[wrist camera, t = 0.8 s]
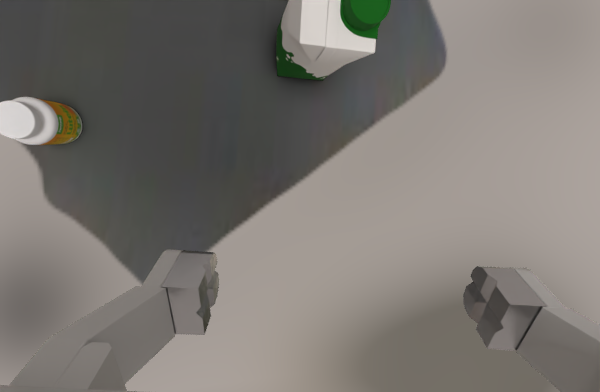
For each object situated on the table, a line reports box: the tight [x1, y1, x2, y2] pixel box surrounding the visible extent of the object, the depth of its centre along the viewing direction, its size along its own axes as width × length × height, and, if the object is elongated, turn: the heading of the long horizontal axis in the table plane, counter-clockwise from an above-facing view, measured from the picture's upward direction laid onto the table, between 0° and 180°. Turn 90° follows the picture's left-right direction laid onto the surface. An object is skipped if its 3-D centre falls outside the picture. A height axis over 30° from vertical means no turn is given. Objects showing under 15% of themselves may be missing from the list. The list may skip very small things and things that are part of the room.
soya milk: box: [276, 0, 391, 81], centre depth 38 cm, size 9×9×20 cm
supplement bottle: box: [0, 97, 82, 145], centre depth 38 cm, size 5×5×10 cm
